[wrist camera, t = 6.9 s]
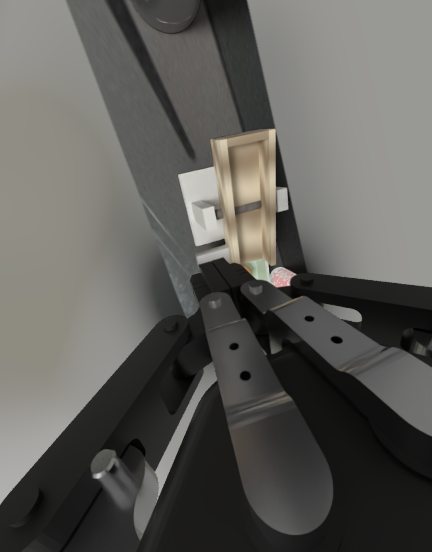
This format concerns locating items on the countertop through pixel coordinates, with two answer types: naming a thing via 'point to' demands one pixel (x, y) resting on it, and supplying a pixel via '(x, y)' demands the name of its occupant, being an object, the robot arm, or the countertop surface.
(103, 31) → the countertop surface
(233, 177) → the tipping chute
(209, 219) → the pivot stand
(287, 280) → the beverage cup
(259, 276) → the cup
